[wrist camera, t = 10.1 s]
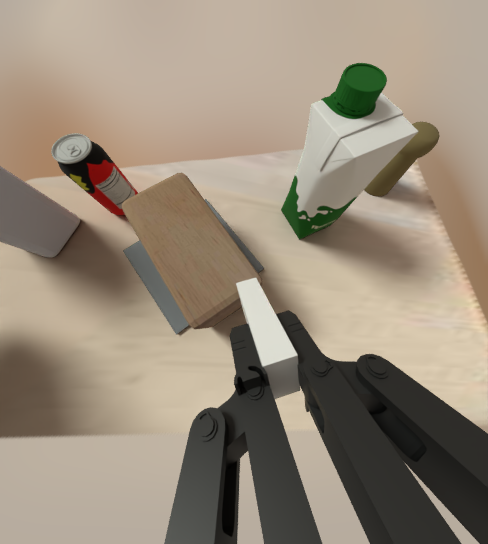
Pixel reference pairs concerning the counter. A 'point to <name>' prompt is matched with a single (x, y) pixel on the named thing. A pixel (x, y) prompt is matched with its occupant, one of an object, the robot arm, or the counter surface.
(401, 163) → the olive peg figure
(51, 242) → the soap bottle
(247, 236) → the counter surface
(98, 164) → the beverage can
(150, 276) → the mat
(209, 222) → the block
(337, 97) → the milk carton
